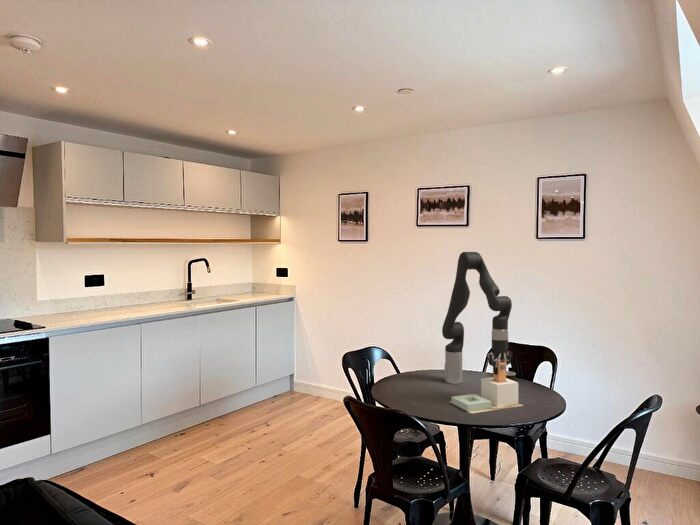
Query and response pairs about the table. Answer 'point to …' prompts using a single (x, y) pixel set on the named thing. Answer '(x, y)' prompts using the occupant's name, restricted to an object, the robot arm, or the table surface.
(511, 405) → the jack board
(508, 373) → the coffee mug
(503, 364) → the plug
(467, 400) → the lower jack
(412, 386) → the table surface
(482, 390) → the white socket block
